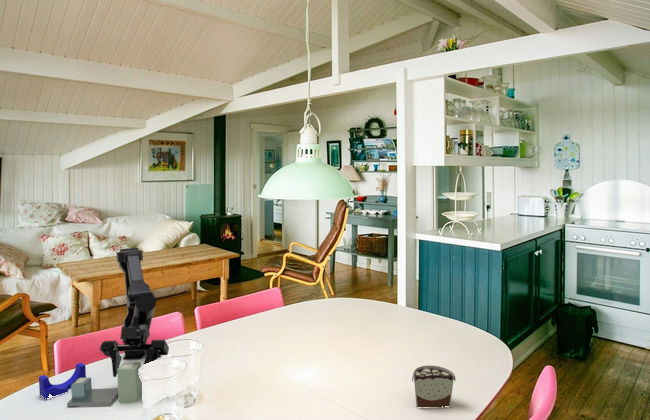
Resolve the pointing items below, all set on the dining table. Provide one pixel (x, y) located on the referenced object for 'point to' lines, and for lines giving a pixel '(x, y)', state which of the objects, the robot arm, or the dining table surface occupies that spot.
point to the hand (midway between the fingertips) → (128, 376)
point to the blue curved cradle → (58, 389)
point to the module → (129, 382)
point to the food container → (433, 386)
